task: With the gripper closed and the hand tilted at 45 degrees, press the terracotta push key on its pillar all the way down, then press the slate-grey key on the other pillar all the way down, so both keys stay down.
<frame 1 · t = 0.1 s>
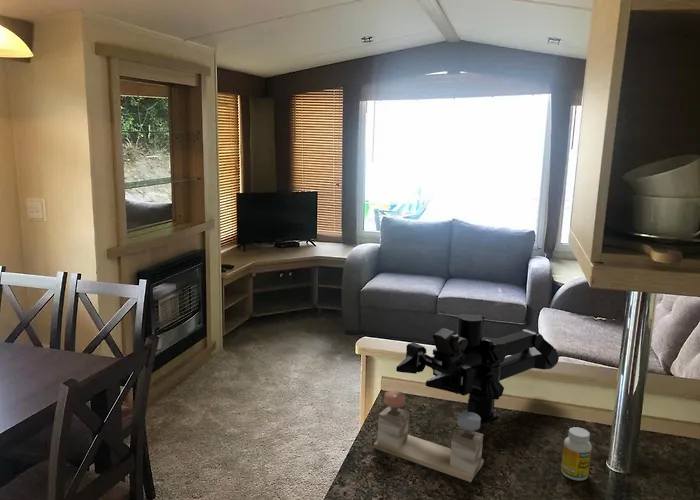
hand: (411, 376, 124), 17 cm above the worktop, tool horizontal, fingers open, 9 cm apart
slate key: (468, 424, 117), point 10 cm above the worktop, slide at 0.0 cm
supplement bottle: (574, 474, 118), on the worktop
terracotta key: (394, 402, 126), point 10 cm above the worktop, slide at 0.0 cm
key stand: (427, 455, 123), on the worktop
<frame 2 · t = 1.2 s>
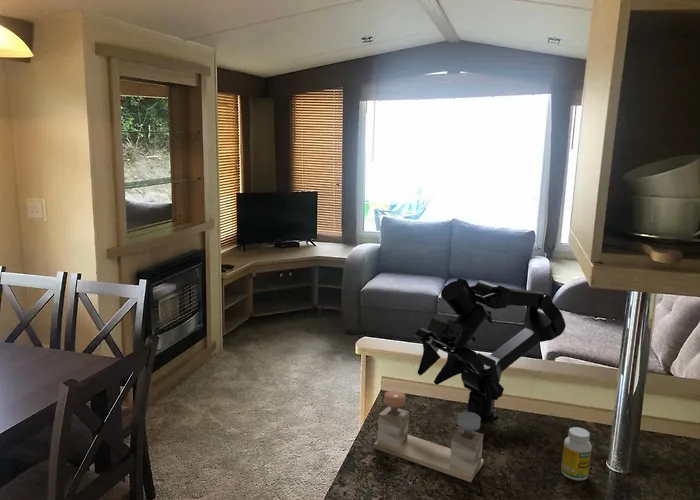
hand: (426, 379, 130), 14 cm above the worktop, tool tilted 45°, fingers open, 5 cm apart
nothing on the worktop moved.
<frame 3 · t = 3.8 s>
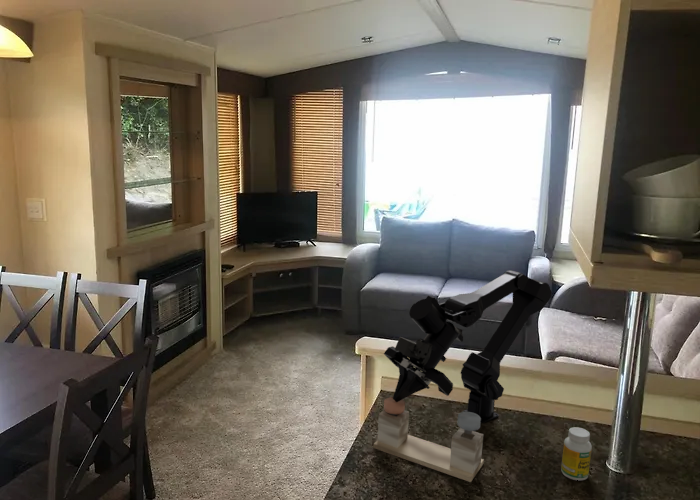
hand: (394, 400, 126), 10 cm above the worktop, tool tilted 45°, fingers closed, pressing on terracotta key
terracotta key: (394, 408, 126), point 8 cm above the worktop, slide at 1.5 cm, touching gripper
everything else where it was.
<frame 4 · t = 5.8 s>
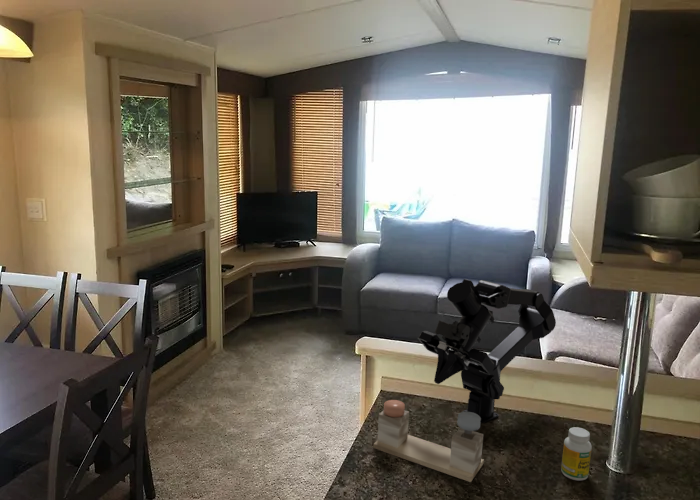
hand: (436, 382, 128), 14 cm above the worktop, tool tilted 45°, fingers closed
terracotta key: (394, 411, 126), point 8 cm above the worktop, slide at 2.2 cm
everything else where it was.
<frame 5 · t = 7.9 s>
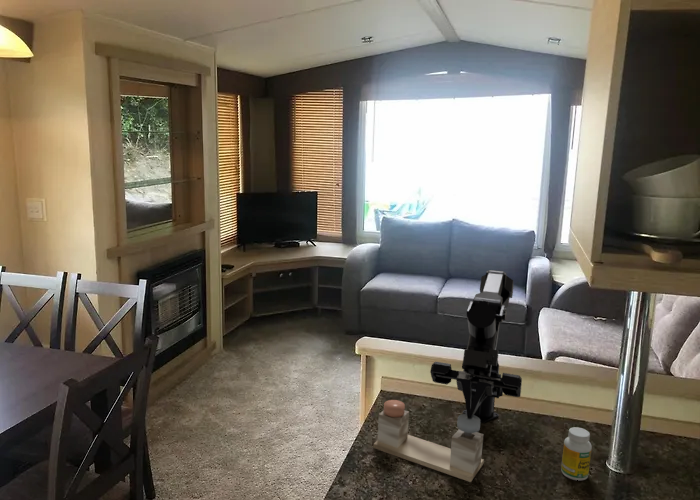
hand: (469, 417, 117), 12 cm above the worktop, tool tilted 45°, fingers closed, pressing on slate key
slate key: (468, 426, 117), point 10 cm above the worktop, slide at 0.5 cm, touching gripper
everything else where it was.
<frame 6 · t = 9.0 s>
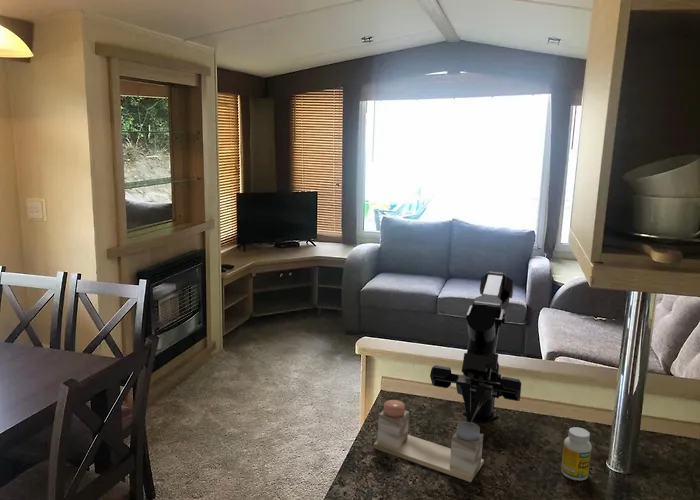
hand: (468, 421, 117), 11 cm above the worktop, tool tilted 45°, fingers closed
slate key: (467, 434, 117), point 8 cm above the worktop, slide at 2.2 cm
everything else where it was.
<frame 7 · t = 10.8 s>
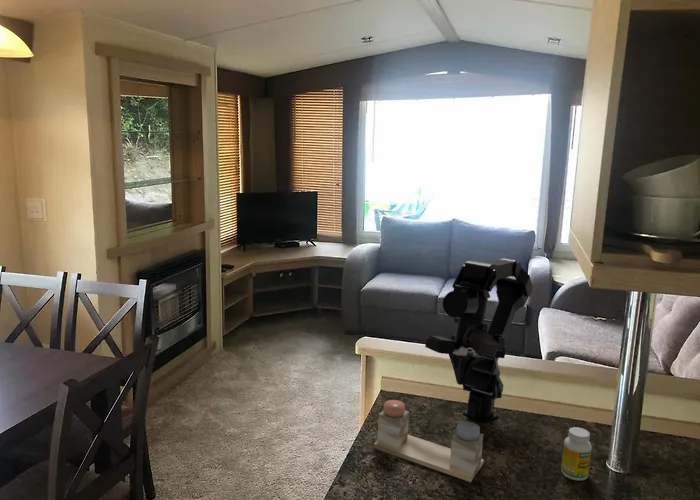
hand: (459, 384, 129), 13 cm above the worktop, tool pointing down, fingers closed
nothing on the worktop moved.
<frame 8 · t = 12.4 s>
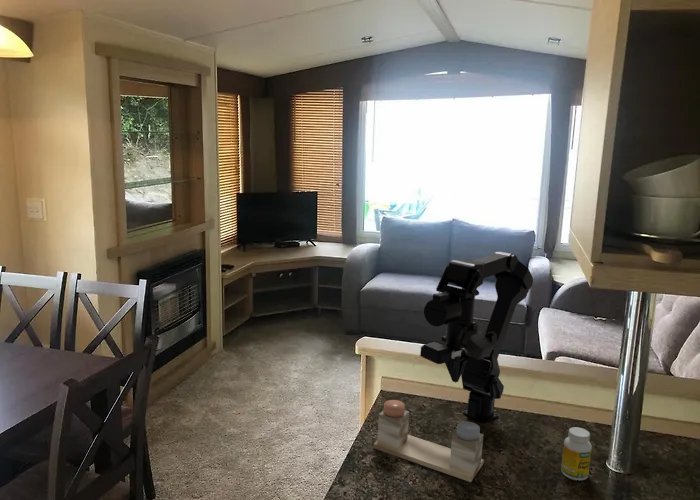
hand: (455, 381, 130), 13 cm above the worktop, tool pointing down, fingers closed
nothing on the worktop moved.
at the end: terracotta key slide at 2.2 cm; slate key slide at 2.2 cm; supplement bottle moved 0.2 cm from its start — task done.
